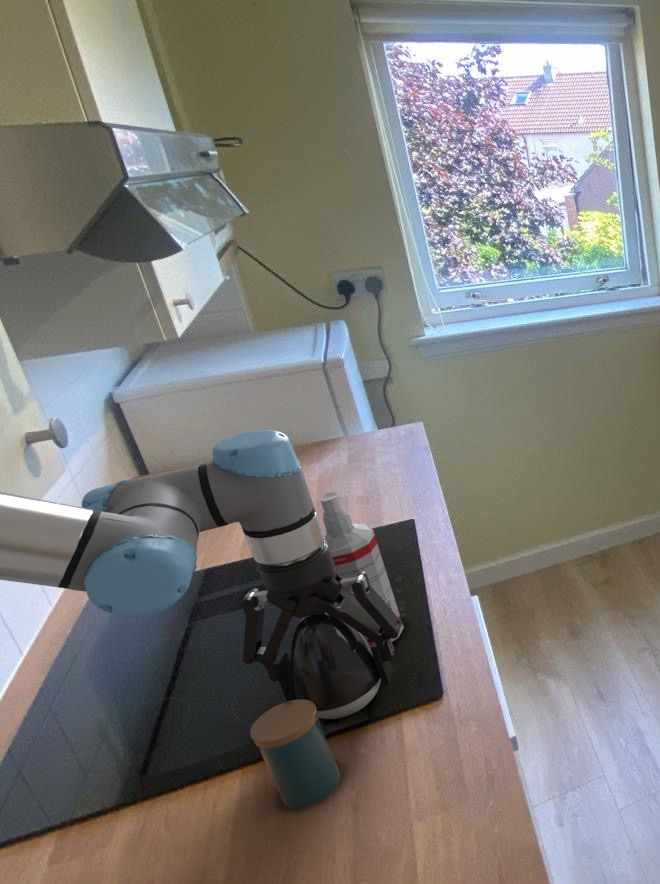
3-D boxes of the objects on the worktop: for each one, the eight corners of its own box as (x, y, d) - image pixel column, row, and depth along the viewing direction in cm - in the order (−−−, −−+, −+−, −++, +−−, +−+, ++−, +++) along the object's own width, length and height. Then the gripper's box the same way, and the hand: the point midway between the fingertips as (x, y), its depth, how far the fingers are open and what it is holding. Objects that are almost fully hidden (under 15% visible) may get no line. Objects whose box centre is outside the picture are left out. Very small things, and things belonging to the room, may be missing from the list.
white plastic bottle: (410, 636, 114) (366, 495, 103) (357, 660, 109) (306, 515, 99) (393, 614, 119) (349, 478, 108) (342, 636, 114) (291, 496, 104)
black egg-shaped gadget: (394, 668, 107) (366, 582, 101) (382, 719, 98) (350, 629, 92) (316, 686, 104) (281, 599, 98) (295, 740, 95) (256, 648, 89)
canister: (277, 819, 85) (245, 750, 80) (285, 778, 90) (255, 710, 85) (340, 797, 87) (312, 728, 82) (344, 758, 92) (318, 692, 88)
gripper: (400, 521, 97) (439, 652, 106) (198, 550, 92) (257, 684, 101) (386, 552, 90) (428, 688, 99) (167, 584, 85) (233, 725, 94)
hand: (342, 686), depth 100 cm, fingers open, 11 cm apart
